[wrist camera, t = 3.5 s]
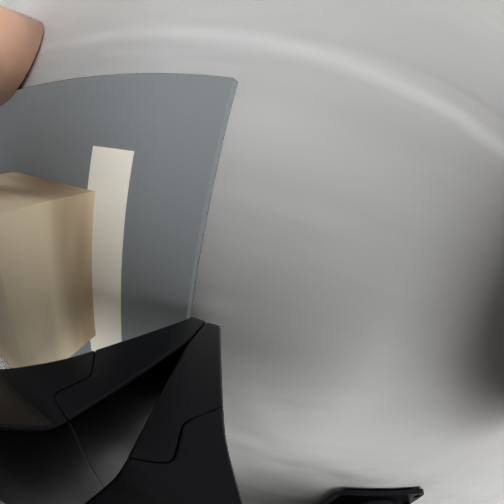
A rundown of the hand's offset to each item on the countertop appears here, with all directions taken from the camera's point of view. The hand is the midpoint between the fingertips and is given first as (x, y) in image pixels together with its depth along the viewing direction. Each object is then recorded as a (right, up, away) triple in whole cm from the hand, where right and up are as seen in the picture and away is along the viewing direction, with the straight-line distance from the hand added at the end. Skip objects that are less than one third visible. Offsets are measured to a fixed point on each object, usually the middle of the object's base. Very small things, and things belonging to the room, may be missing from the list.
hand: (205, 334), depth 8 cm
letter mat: (-7, +3, +2) cm, 8 cm away
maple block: (-7, +2, +2) cm, 8 cm away
